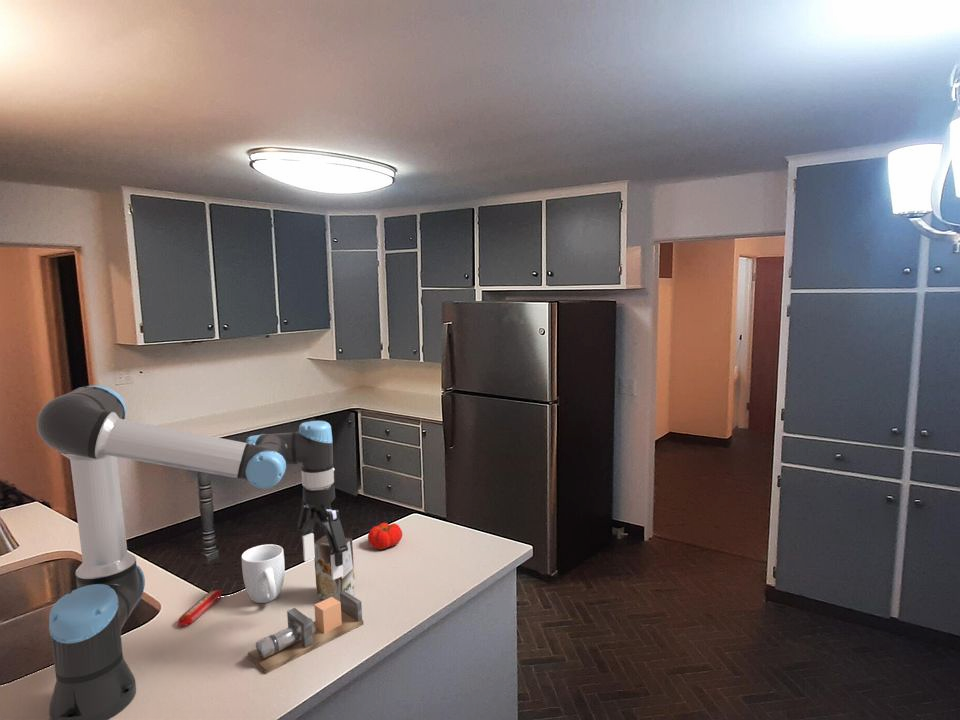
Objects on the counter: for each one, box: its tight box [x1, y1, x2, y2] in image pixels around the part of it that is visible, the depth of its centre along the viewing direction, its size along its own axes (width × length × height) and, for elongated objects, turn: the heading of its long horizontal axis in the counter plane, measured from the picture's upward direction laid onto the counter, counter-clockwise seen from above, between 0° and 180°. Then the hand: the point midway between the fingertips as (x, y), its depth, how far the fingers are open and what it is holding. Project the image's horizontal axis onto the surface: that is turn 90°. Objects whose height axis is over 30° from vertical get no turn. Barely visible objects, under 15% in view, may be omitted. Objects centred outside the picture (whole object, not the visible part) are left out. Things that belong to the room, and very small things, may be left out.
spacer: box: [313, 597, 342, 633], centre depth 147 cm, size 5×4×6 cm
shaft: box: [255, 617, 316, 659], centre depth 139 cm, size 13×4×4 cm, turn 136°
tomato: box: [367, 522, 403, 550], centre depth 195 cm, size 10×11×6 cm
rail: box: [247, 591, 364, 674], centre depth 143 cm, size 26×9×7 cm, turn 136°
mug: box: [241, 543, 286, 604], centre depth 161 cm, size 15×11×13 cm
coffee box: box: [313, 534, 356, 602], centre depth 163 cm, size 9×6×16 cm
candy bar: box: [177, 590, 223, 627], centre depth 157 cm, size 16×4×3 cm, turn 171°
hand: (323, 568), depth 145 cm, fingers open, 13 cm apart
